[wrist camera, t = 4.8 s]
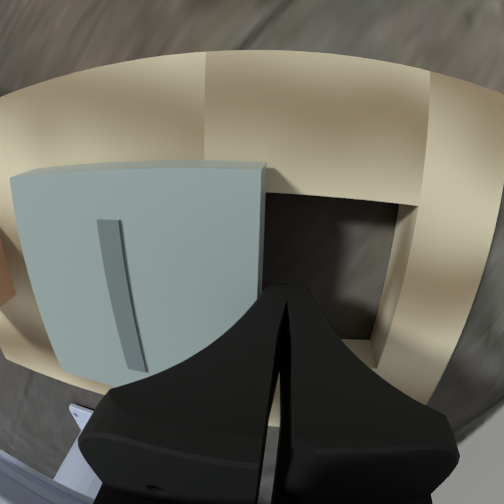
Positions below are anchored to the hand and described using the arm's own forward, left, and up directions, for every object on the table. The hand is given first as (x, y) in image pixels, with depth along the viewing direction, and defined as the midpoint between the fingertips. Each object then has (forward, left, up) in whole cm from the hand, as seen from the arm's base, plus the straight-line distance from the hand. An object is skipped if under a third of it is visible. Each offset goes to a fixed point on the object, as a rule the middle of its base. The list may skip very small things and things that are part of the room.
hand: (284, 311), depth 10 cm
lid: (0, +5, -1) cm, 5 cm away
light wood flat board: (0, +5, -3) cm, 6 cm away
